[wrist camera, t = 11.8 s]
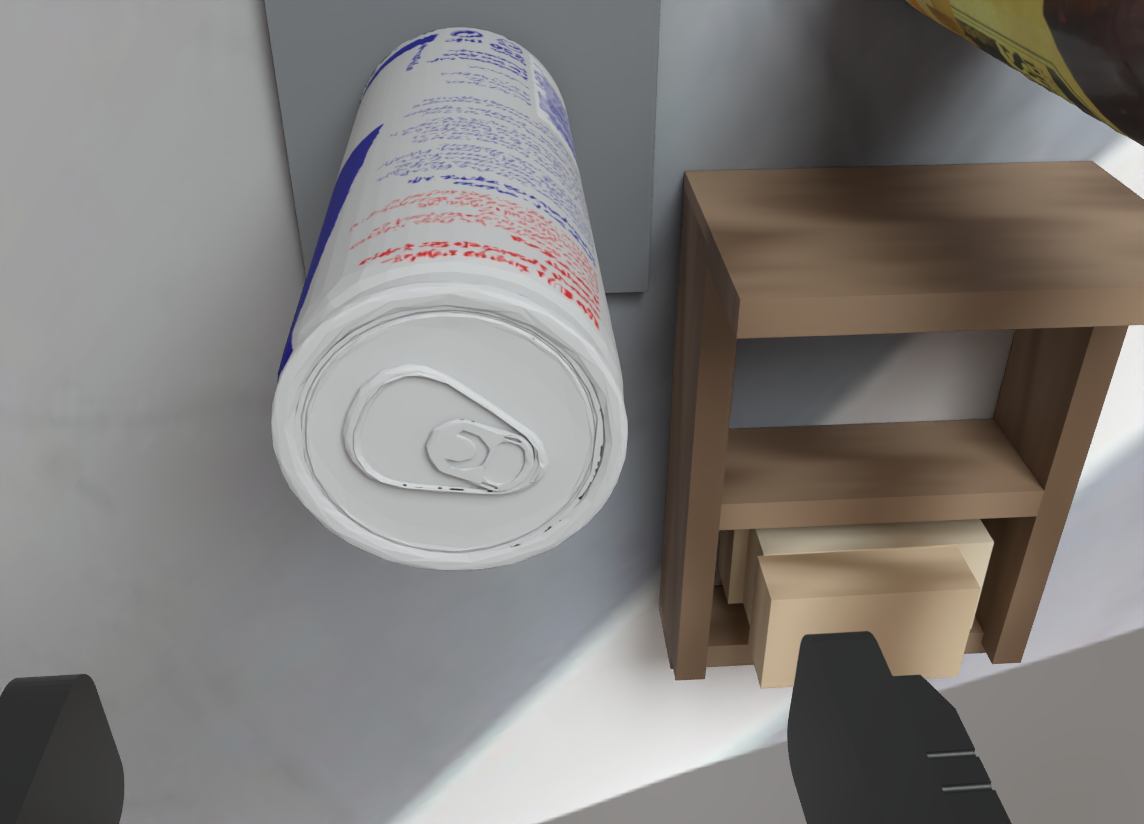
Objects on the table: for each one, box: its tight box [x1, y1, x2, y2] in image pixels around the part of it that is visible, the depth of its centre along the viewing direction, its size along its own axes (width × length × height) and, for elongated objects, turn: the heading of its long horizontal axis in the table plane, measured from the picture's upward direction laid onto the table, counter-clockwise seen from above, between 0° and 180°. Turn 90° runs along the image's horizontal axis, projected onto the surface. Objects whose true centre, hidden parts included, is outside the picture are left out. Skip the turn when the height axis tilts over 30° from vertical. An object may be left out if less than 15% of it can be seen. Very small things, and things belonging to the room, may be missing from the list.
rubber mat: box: [264, 0, 661, 293], centre depth 29 cm, size 10×10×1 cm
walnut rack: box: [659, 161, 1144, 680], centre depth 32 cm, size 12×17×8 cm
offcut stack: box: [718, 519, 994, 688], centre depth 36 cm, size 8×4×6 cm, turn 91°
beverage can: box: [271, 27, 628, 571], centre depth 23 cm, size 6×6×15 cm
